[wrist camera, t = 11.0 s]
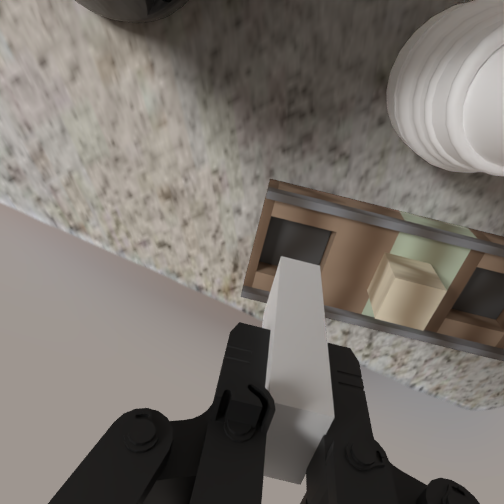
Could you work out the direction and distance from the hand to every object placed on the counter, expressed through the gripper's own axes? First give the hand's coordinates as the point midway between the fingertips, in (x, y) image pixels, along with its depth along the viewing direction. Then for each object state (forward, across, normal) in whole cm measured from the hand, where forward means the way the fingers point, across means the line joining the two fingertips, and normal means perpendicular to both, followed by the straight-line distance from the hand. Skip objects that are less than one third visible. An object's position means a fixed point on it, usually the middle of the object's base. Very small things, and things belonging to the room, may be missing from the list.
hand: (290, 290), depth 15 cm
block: (+24, +14, -11) cm, 30 cm away
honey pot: (+27, +13, +8) cm, 31 cm away
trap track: (+26, +14, -11) cm, 32 cm away
